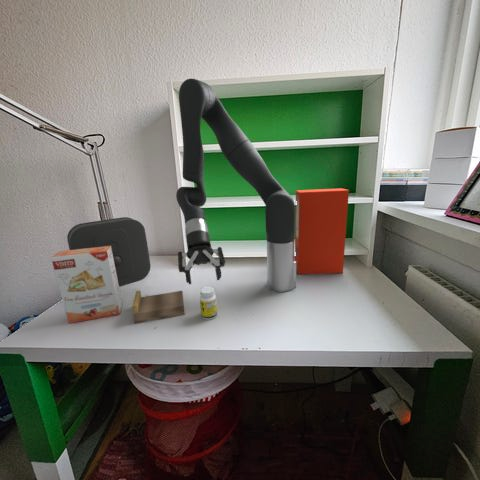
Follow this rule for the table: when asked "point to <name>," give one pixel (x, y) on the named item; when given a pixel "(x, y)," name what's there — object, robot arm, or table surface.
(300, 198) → the file binder
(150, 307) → the dock
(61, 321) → the table surface
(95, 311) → the cracker box
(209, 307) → the supplement bottle
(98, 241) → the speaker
